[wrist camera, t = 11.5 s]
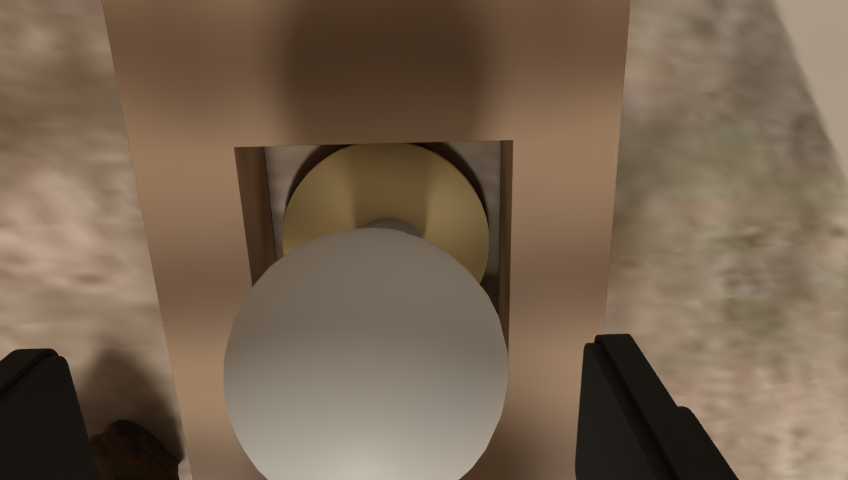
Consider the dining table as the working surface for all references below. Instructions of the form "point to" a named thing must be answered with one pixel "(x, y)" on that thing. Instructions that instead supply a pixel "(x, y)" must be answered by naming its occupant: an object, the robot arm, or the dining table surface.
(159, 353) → the dining table surface
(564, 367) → the holder
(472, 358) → the lightbulb
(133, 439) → the hand tool
